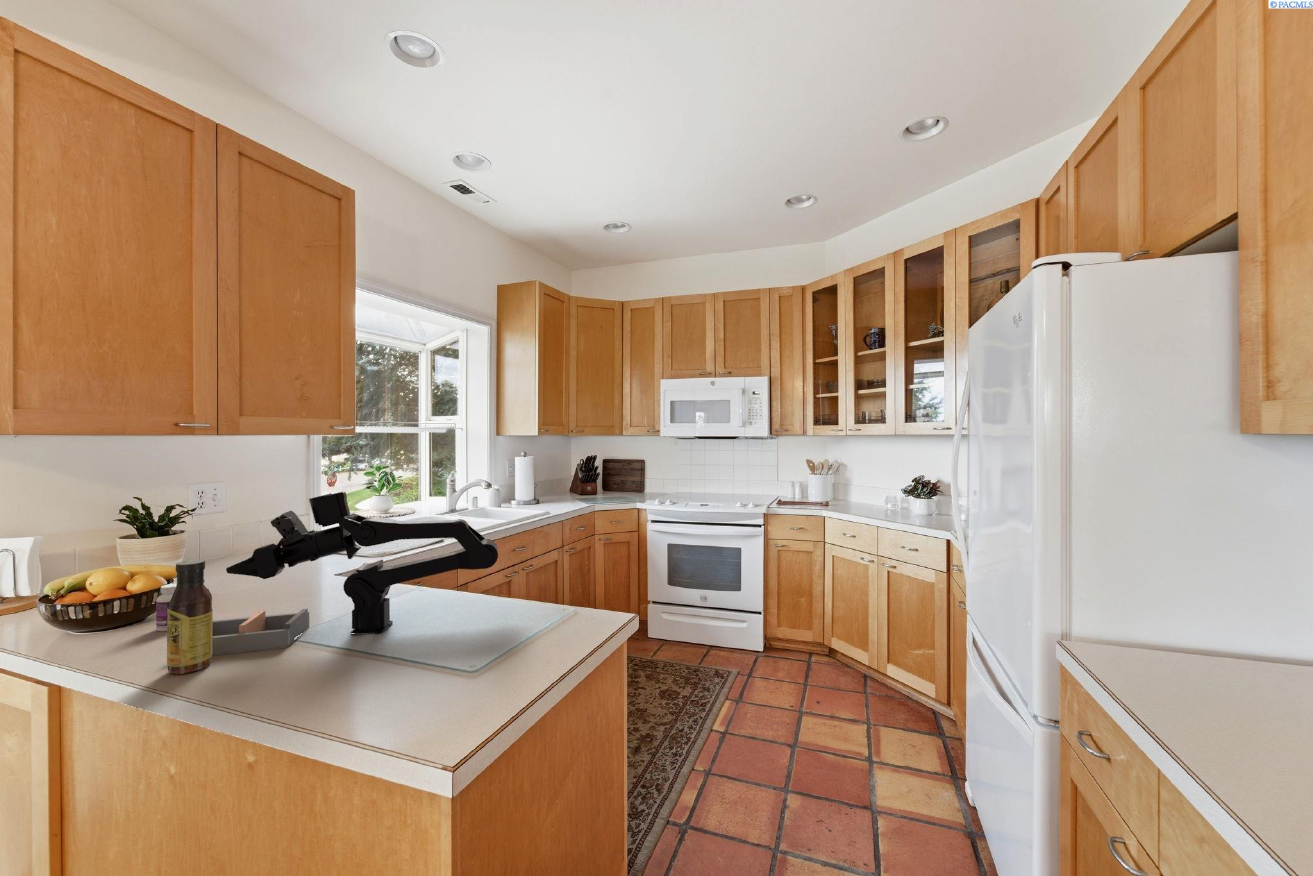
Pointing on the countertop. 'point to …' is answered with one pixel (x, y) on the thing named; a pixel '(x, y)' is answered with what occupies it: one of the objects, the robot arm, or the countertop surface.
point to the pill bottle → (163, 606)
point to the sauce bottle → (189, 620)
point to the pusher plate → (254, 623)
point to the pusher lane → (258, 633)
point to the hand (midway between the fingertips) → (238, 565)
